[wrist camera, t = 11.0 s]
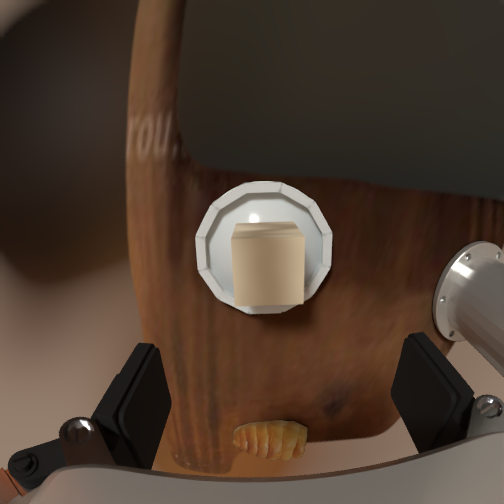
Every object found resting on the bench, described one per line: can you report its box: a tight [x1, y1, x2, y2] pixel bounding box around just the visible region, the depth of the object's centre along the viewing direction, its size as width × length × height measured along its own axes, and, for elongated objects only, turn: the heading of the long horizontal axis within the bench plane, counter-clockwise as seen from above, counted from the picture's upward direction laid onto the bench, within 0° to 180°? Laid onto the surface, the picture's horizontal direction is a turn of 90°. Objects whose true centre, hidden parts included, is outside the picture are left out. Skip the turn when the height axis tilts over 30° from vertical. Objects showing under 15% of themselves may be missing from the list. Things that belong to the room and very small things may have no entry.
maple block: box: [231, 221, 305, 306], centre depth 24 cm, size 5×5×6 cm
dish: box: [195, 181, 332, 314], centre depth 27 cm, size 12×12×1 cm
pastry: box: [233, 420, 308, 461], centre depth 33 cm, size 9×7×4 cm
